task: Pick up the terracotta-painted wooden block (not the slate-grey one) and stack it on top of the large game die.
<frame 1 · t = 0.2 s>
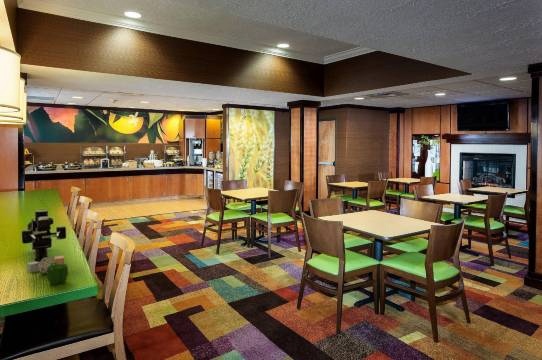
hand: (46, 238, 182), 16 cm above the bar counter, tool horizontal, fingers open, 9 cm apart
terracotta block: (58, 265, 195), on the bar counter
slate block: (33, 270, 185), on the bar counter
game die: (47, 273, 182), on the bar counter
bell pepper: (57, 283, 169), on the bar counter
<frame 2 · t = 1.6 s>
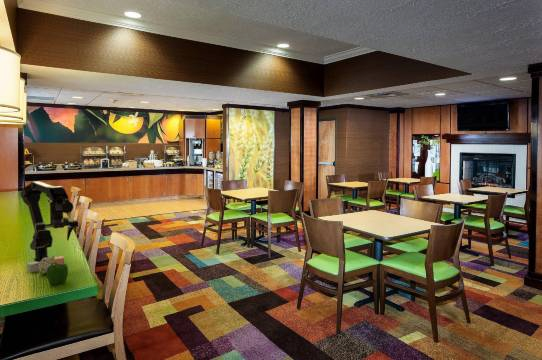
hand: (57, 241, 194), 12 cm above the bar counter, tool pointing down, fingers open, 9 cm apart
nothing on the bar counter moved.
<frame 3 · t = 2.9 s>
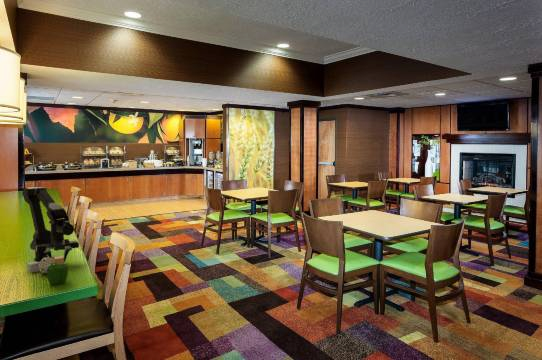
hand: (58, 262, 195), 1 cm above the bar counter, tool pointing down, fingers closed on terracotta block, 5 cm apart
terracotta block: (58, 265, 195), on the bar counter, touching gripper
everything else where it was.
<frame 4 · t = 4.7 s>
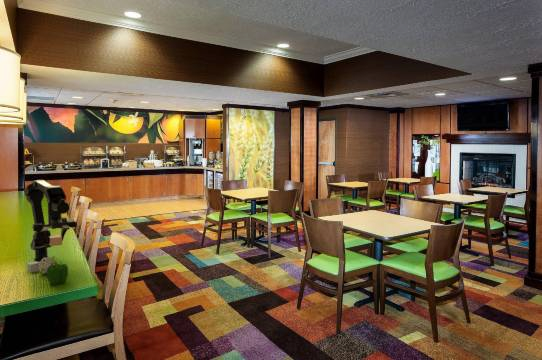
hand: (55, 242, 191), 12 cm above the bar counter, tool pointing down, fingers closed on terracotta block, 5 cm apart
terracotta block: (55, 244, 191), point 11 cm above the bar counter, touching gripper
everything else where it was.
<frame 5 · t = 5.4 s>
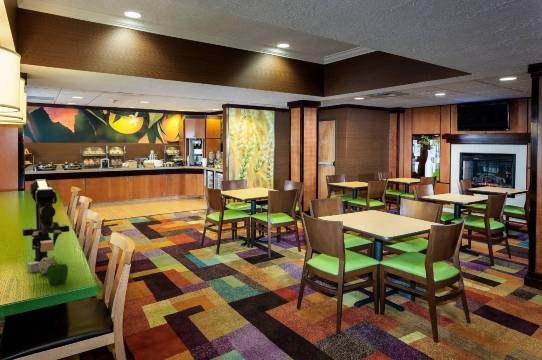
hand: (46, 247, 181), 12 cm above the bar counter, tool pointing down, fingers closed on terracotta block, 5 cm apart
terracotta block: (46, 249, 181), point 11 cm above the bar counter, touching gripper
everything else where it was.
when the fingers open (10 cm above the bar counter, at t = 6.1 s): terracotta block drops 2 cm, resting on game die.
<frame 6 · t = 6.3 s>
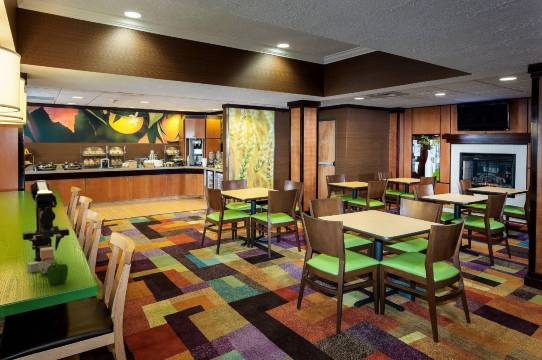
hand: (46, 251, 181), 10 cm above the bar counter, tool pointing down, fingers open, 7 cm apart
terracotta block: (46, 256, 181), point 8 cm above the bar counter, touching game die
game die: (47, 273, 182), on the bar counter, touching terracotta block
everything else where it was.
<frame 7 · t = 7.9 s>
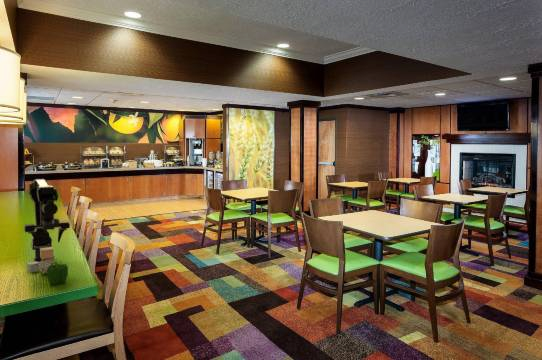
hand: (47, 243, 186), 13 cm above the bar counter, tool pointing down, fingers open, 9 cm apart
nothing on the bar counter moved.
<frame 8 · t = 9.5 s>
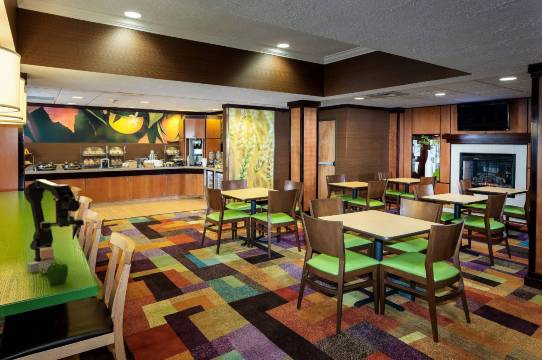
hand: (62, 240, 192), 13 cm above the bar counter, tool pointing down, fingers open, 9 cm apart
nothing on the bar counter moved.
at the end: terracotta block inside the target area on the game die (0.2 cm from its centre), point 8.2 cm above the game die's base; the gripper is holding nothing; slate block moved 0.1 cm from its start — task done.
